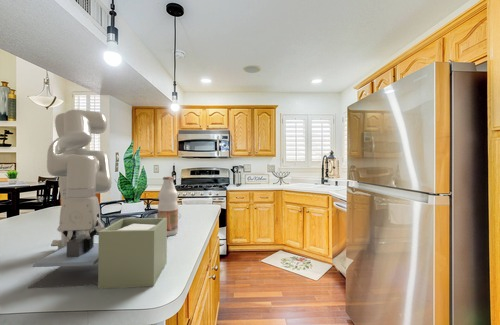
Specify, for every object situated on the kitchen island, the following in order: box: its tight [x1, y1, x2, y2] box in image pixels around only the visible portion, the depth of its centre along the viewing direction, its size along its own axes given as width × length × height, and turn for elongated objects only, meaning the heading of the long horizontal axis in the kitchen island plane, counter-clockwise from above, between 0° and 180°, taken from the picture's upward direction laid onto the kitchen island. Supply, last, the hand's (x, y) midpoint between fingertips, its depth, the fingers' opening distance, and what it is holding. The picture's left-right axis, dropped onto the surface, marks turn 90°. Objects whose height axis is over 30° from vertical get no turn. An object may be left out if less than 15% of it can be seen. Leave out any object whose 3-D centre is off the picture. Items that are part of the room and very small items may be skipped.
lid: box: [32, 234, 99, 268], centre depth 75 cm, size 16×16×6 cm
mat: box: [27, 262, 98, 289], centre depth 75 cm, size 18×17×1 cm
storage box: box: [97, 217, 168, 289], centre depth 74 cm, size 15×15×16 cm
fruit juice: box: [157, 176, 179, 237], centre depth 116 cm, size 9×9×28 cm
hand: (81, 250), depth 75 cm, fingers closed on lid, 3 cm apart
